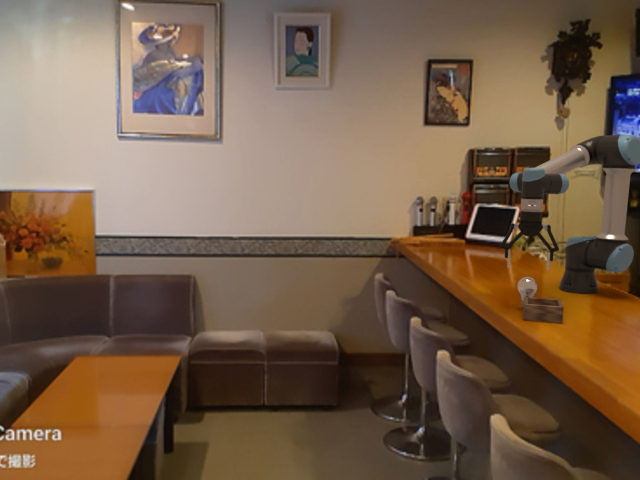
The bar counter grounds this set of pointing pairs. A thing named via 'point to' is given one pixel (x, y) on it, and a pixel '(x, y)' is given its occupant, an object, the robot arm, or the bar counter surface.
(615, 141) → the robot arm
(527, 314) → the walnut box
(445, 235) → the bar counter surface
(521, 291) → the light bulb
